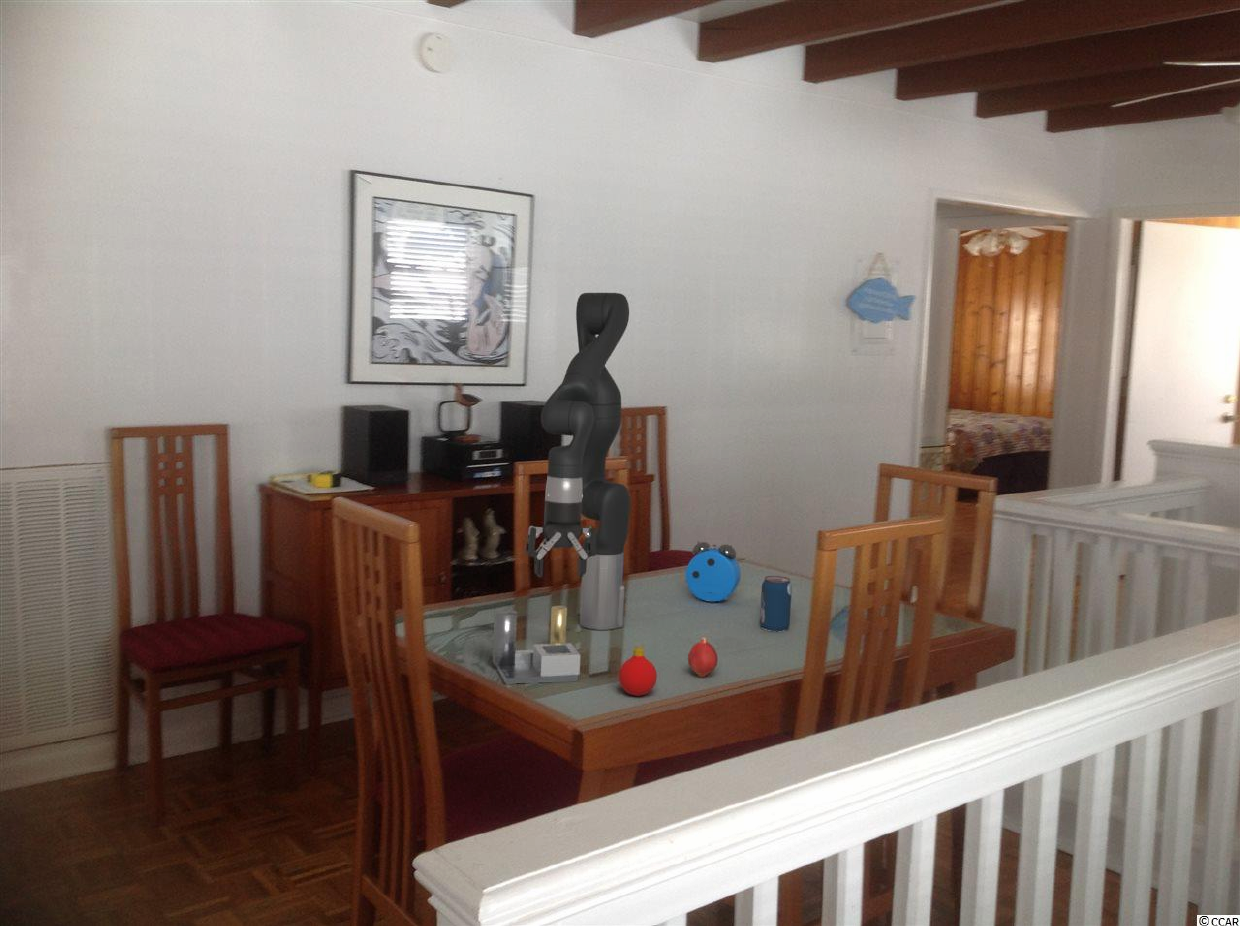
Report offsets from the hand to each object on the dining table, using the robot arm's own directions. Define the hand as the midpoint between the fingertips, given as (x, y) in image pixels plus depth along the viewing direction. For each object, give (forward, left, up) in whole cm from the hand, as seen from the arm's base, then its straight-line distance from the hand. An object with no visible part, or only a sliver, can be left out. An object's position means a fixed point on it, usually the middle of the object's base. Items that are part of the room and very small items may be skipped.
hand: (559, 576), depth 221 cm
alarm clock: (-50, -40, -17) cm, 66 cm away
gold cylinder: (0, 0, -17) cm, 17 cm away
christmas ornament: (-9, +26, -17) cm, 32 cm away
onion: (-25, +18, -17) cm, 35 cm away
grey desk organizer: (+7, +11, -17) cm, 21 cm away
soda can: (-55, -13, -17) cm, 59 cm away
